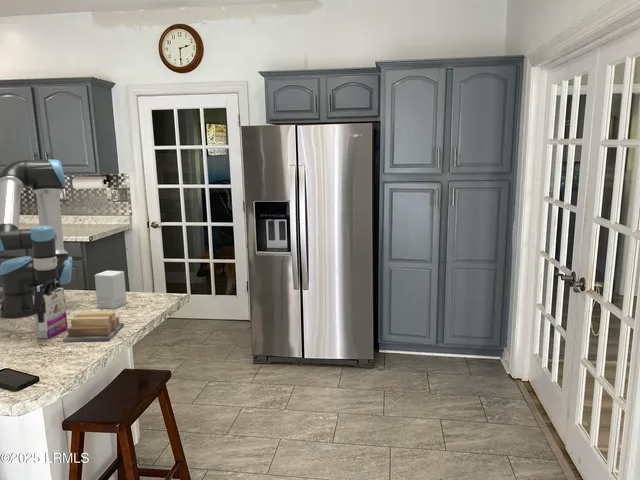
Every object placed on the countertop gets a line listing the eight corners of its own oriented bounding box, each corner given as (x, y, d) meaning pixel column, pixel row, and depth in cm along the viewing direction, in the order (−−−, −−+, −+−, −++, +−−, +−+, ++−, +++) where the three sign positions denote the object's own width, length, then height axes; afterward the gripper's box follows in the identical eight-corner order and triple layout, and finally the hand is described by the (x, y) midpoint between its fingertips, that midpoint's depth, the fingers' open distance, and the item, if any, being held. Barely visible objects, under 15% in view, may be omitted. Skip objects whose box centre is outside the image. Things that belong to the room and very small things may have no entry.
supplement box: (127, 303, 223) (125, 271, 221) (114, 309, 215) (112, 275, 212) (109, 301, 225) (107, 269, 223) (96, 307, 217) (93, 274, 214)
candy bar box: (56, 328, 192) (52, 287, 189) (68, 328, 191) (64, 287, 188) (36, 338, 181) (31, 295, 178) (48, 339, 180) (43, 295, 177)
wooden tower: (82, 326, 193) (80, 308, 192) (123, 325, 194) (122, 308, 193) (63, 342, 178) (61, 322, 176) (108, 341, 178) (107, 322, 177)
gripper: (40, 276, 170) (46, 336, 174) (70, 260, 194) (75, 314, 197) (17, 276, 170) (24, 336, 173) (51, 261, 193) (56, 314, 197)
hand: (51, 324), depth 185 cm, fingers closed on candy bar box, 12 cm apart
